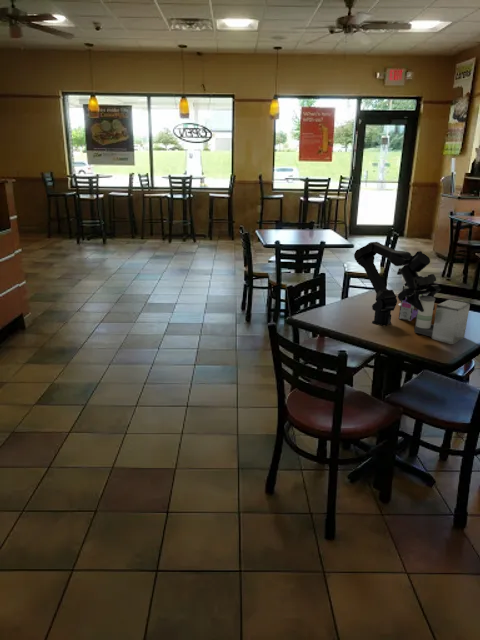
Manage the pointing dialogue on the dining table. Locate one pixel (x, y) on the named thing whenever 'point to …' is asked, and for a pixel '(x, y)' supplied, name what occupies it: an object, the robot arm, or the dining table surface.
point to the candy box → (407, 309)
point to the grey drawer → (424, 329)
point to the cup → (425, 312)
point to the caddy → (450, 321)
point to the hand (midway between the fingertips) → (428, 310)
